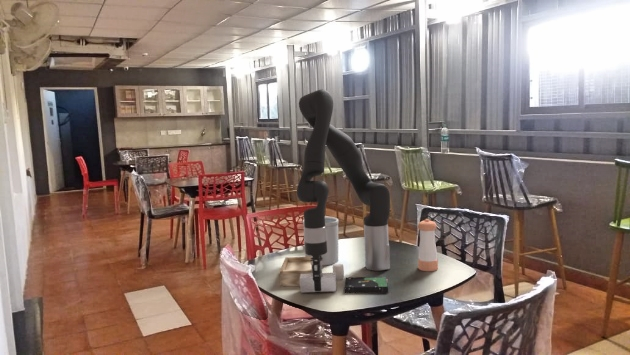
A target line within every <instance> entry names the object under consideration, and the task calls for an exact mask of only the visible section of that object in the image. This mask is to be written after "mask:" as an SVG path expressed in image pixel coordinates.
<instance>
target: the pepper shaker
mask: <svg viewBox="0 0 630 355" xmlns="http://www.w3.org/2000/svg"><path fill="white" fill-rule="evenodd" d="M418 222H419V221H418ZM437 226H438V225H437V223H436V222H435V221H432V220H430V219H429V218H425V219H424V220H422V221H420V222H419V223H418V224H417V229H418V230H419V246H418V260H417V267H418V270H420V271H423V272H434V271H437V270H438V269H439V265H438V264H439V263H438V262H439V260H438V258H437V256H438V255H437V246H436V234H435V233H436V232H435V230H436V229H437Z"/></svg>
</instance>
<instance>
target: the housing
mask: <svg viewBox="0 0 630 355" xmlns="http://www.w3.org/2000/svg"><path fill="white" fill-rule="evenodd" d="M315 277H319V275H315ZM299 287H300V293H317V292H318V293H319V292H323V293H324V292H337V280H336V273H333V272H322V273H321V291H315V289H314V281H313V273H310V274H301V275H300V286H299Z"/></svg>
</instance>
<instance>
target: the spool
mask: <svg viewBox="0 0 630 355" xmlns="http://www.w3.org/2000/svg"><path fill="white" fill-rule="evenodd" d="M332 273H336V282H337V281H343V280H345V269H344V264H343V263H342V264H341V263H334V264H332Z"/></svg>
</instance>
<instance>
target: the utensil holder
mask: <svg viewBox="0 0 630 355" xmlns="http://www.w3.org/2000/svg"><path fill="white" fill-rule="evenodd" d="M302 225H303V226H304V219H302ZM325 228H326V236H327V253H326V254H324V255H322V257H323V264H322V265H323V266H331V265H334V264H337V263H338V262H339V218H337V217H333V216H325ZM303 241H304V243H303V244H304V246H305V240H303ZM304 257H313V256H311V255H307V254H306V253H305V252H304Z"/></svg>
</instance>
